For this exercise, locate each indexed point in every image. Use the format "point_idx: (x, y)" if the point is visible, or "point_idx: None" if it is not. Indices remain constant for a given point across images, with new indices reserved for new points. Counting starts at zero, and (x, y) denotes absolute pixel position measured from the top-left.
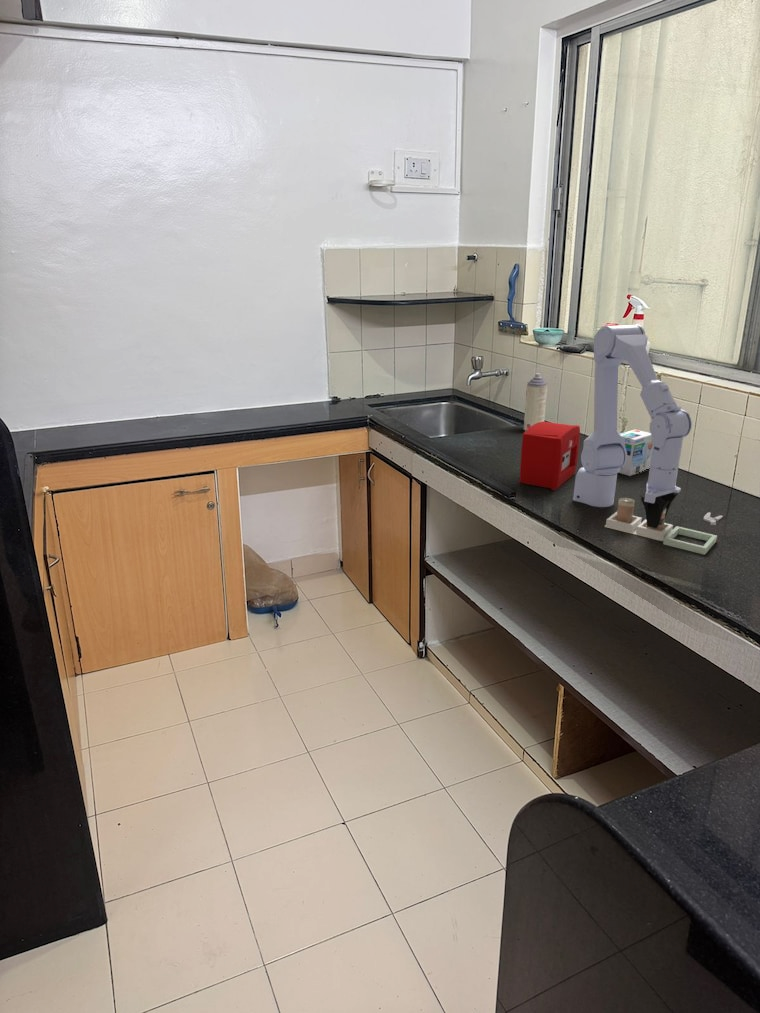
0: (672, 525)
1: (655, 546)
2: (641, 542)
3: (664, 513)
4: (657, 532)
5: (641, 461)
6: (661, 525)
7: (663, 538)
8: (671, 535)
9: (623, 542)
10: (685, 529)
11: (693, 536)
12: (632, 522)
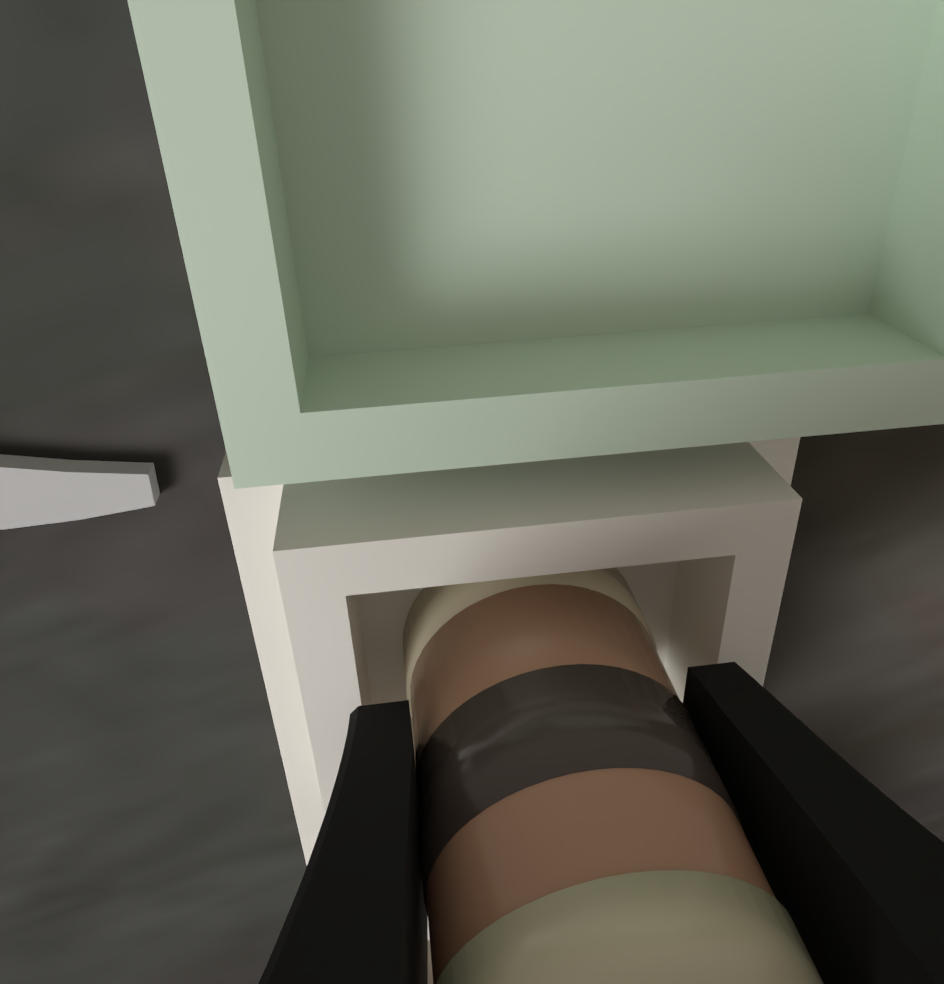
0: (306, 547)
1: (885, 436)
2: (828, 603)
3: (675, 880)
4: (772, 586)
5: None
6: (621, 657)
7: (756, 447)
8: (802, 370)
9: (919, 717)
10: (275, 277)
11: (256, 39)
12: None
